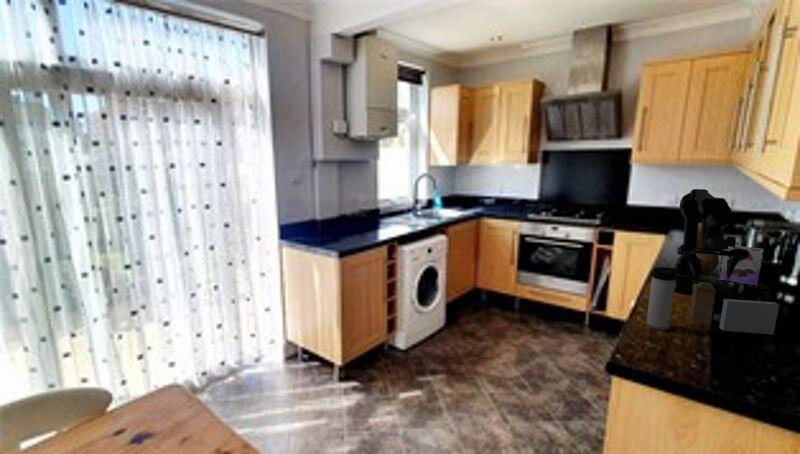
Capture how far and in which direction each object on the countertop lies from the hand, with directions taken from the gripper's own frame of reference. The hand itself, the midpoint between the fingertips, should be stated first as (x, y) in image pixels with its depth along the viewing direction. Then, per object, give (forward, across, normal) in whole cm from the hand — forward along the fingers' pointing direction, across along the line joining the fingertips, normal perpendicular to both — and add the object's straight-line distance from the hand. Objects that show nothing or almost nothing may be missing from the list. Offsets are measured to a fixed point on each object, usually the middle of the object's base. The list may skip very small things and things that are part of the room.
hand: (711, 276), depth 131 cm
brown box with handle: (+15, -2, +4) cm, 15 cm away
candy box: (-8, +26, +60) cm, 66 cm away
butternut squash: (-12, +14, +70) cm, 72 cm away
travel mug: (+20, -16, -8) cm, 27 cm away
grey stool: (+15, +8, +3) cm, 17 cm away
